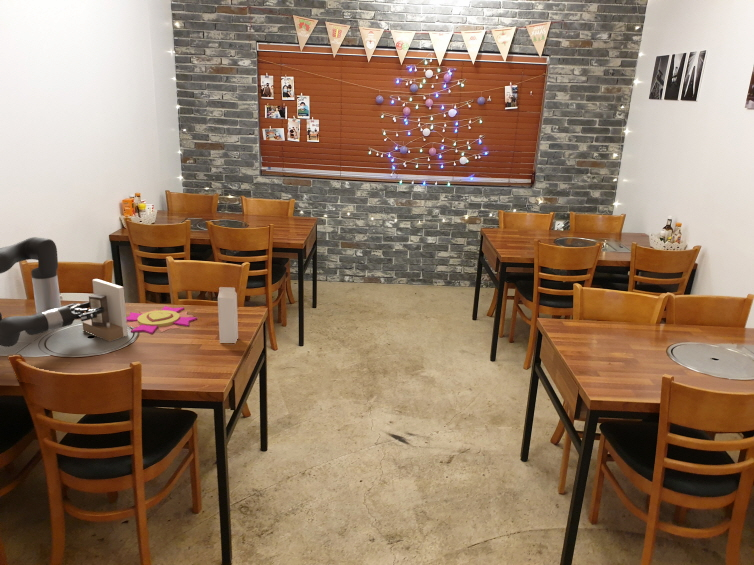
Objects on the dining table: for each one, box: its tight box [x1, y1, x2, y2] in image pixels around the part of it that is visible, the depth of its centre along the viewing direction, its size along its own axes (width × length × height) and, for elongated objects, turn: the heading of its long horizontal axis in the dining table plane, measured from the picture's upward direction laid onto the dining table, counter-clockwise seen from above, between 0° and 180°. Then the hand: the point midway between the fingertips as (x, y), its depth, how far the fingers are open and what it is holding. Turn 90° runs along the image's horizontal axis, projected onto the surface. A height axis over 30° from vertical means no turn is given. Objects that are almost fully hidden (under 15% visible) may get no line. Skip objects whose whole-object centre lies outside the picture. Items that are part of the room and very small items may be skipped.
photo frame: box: [88, 293, 109, 327], centre depth 227 cm, size 6×3×12 cm, turn 77°
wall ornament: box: [126, 305, 198, 335], centre depth 246 cm, size 30×2×30 cm
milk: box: [217, 286, 239, 344], centre depth 225 cm, size 6×6×22 cm
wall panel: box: [81, 278, 129, 342], centre depth 228 cm, size 17×8×20 cm, turn 58°
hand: (97, 306), depth 225 cm, fingers open, 8 cm apart
